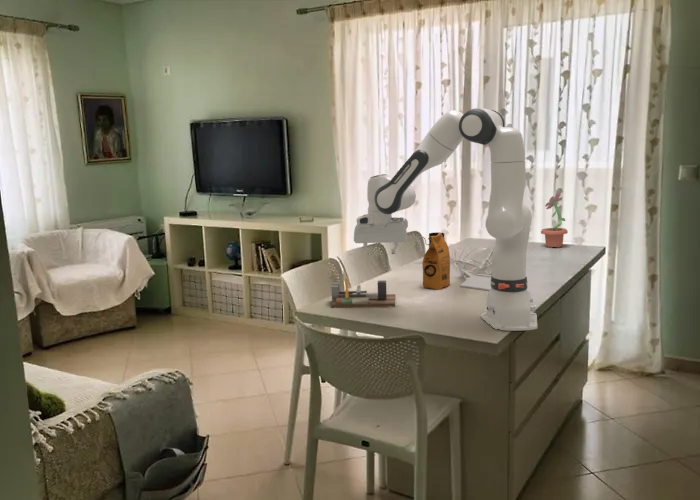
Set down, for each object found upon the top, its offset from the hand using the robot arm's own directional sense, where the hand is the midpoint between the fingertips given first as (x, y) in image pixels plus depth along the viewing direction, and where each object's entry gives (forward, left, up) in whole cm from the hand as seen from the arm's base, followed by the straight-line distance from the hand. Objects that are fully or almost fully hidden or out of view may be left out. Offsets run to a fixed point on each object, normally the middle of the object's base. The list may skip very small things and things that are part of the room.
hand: (381, 254), depth 231 cm
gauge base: (0, +7, -19) cm, 20 cm away
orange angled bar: (-5, +13, -15) cm, 21 cm away
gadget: (+27, -44, -20) cm, 55 cm away
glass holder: (+70, -22, -19) cm, 76 cm away
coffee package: (+24, -22, -19) cm, 38 cm away
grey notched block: (-2, +5, -17) cm, 18 cm away
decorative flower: (+109, -91, -19) cm, 143 cm away
